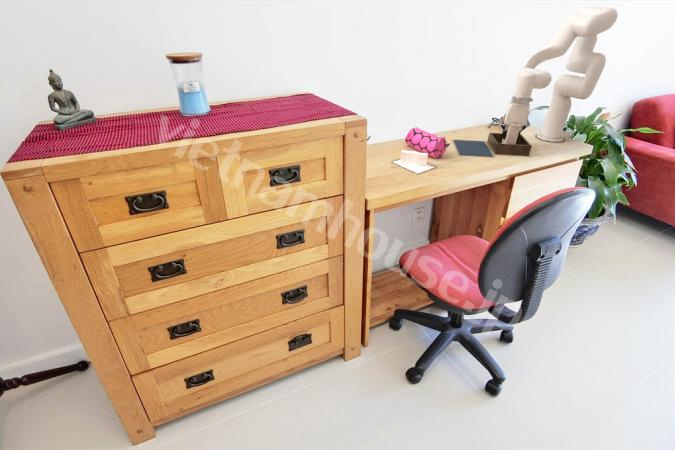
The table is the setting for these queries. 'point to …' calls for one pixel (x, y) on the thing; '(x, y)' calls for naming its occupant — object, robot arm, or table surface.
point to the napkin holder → (414, 161)
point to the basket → (508, 145)
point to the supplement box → (512, 134)
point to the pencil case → (426, 142)
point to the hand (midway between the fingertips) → (509, 138)
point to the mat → (472, 148)
